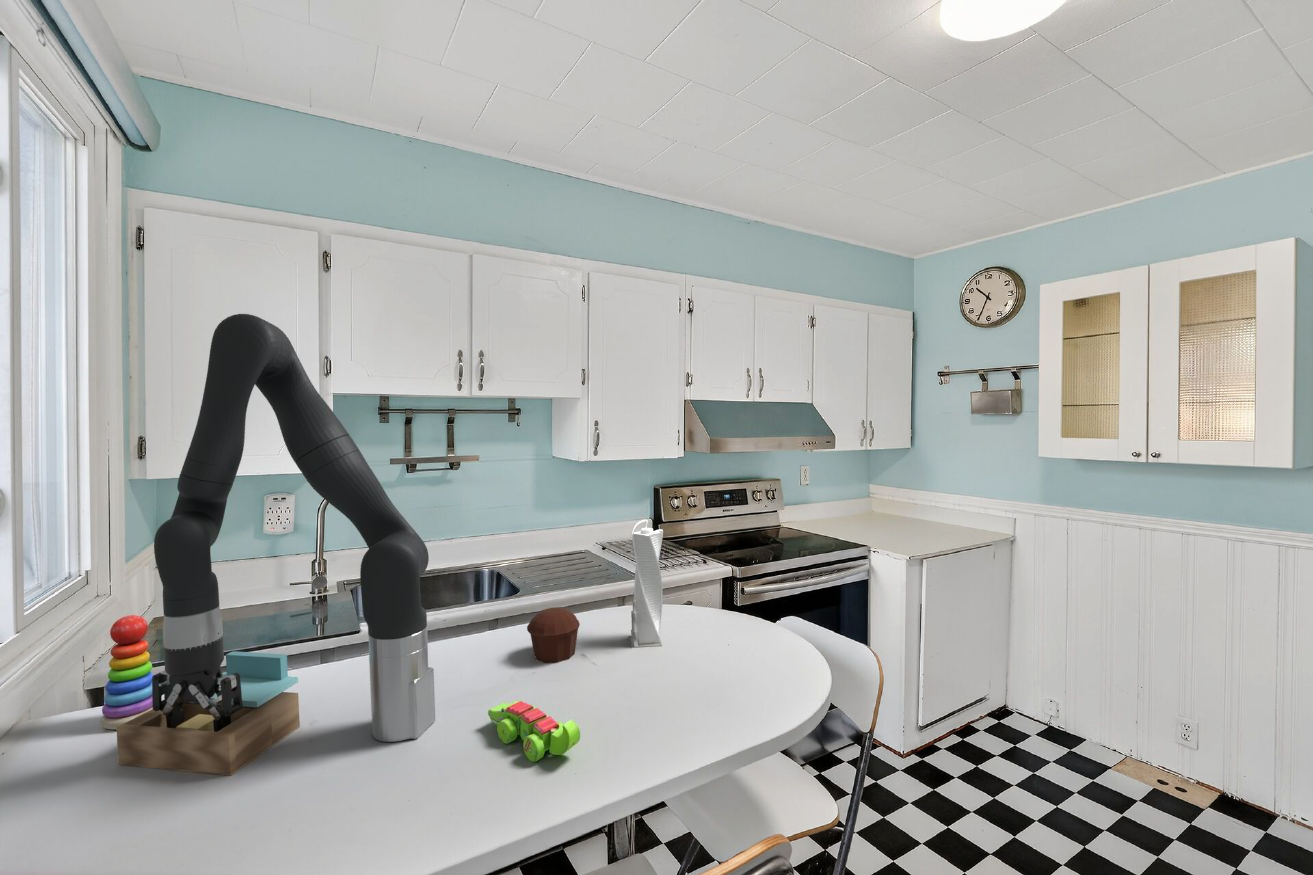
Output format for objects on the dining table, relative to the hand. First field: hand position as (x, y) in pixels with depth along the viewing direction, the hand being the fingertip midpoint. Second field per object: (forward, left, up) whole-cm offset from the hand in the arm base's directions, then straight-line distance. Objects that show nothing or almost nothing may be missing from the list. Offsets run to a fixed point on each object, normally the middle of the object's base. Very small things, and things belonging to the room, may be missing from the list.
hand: (199, 737), depth 97 cm
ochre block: (0, 0, -2) cm, 2 cm away
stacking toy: (+22, -8, -3) cm, 23 cm away
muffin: (-44, -44, -3) cm, 63 cm away
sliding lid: (0, -8, +4) cm, 9 cm away
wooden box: (0, -2, -3) cm, 4 cm away
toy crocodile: (-52, -10, -3) cm, 53 cm away
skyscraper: (-63, -56, -3) cm, 84 cm away
